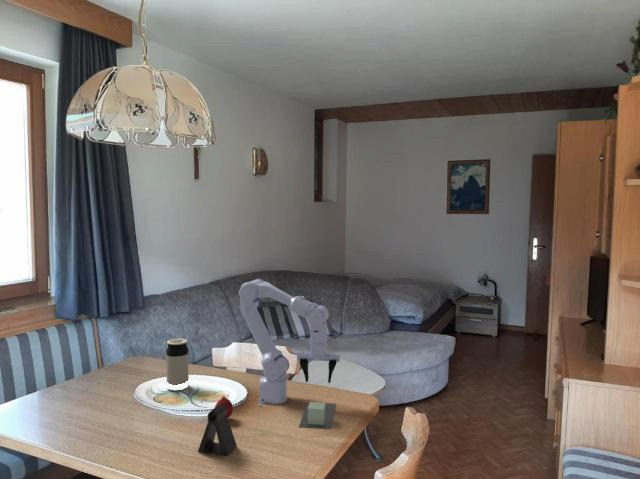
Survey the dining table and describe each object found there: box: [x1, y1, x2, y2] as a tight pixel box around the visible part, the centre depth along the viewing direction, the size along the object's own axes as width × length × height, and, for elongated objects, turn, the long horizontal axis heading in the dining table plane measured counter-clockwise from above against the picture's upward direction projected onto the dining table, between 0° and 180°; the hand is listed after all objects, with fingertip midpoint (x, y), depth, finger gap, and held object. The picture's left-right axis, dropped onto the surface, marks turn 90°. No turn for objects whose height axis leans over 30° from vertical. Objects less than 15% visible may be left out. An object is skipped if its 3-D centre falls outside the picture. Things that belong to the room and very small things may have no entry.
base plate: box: [298, 401, 337, 430], centre depth 160 cm, size 10×20×4 cm, turn 174°
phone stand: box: [197, 404, 237, 457], centre depth 139 cm, size 9×6×12 cm, turn 75°
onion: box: [214, 395, 234, 418], centre depth 158 cm, size 6×6×8 cm
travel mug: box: [165, 338, 189, 385], centre depth 187 cm, size 8×8×18 cm
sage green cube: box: [308, 401, 327, 425], centre depth 155 cm, size 5×5×5 cm
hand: (318, 381), depth 168 cm, fingers open, 7 cm apart
